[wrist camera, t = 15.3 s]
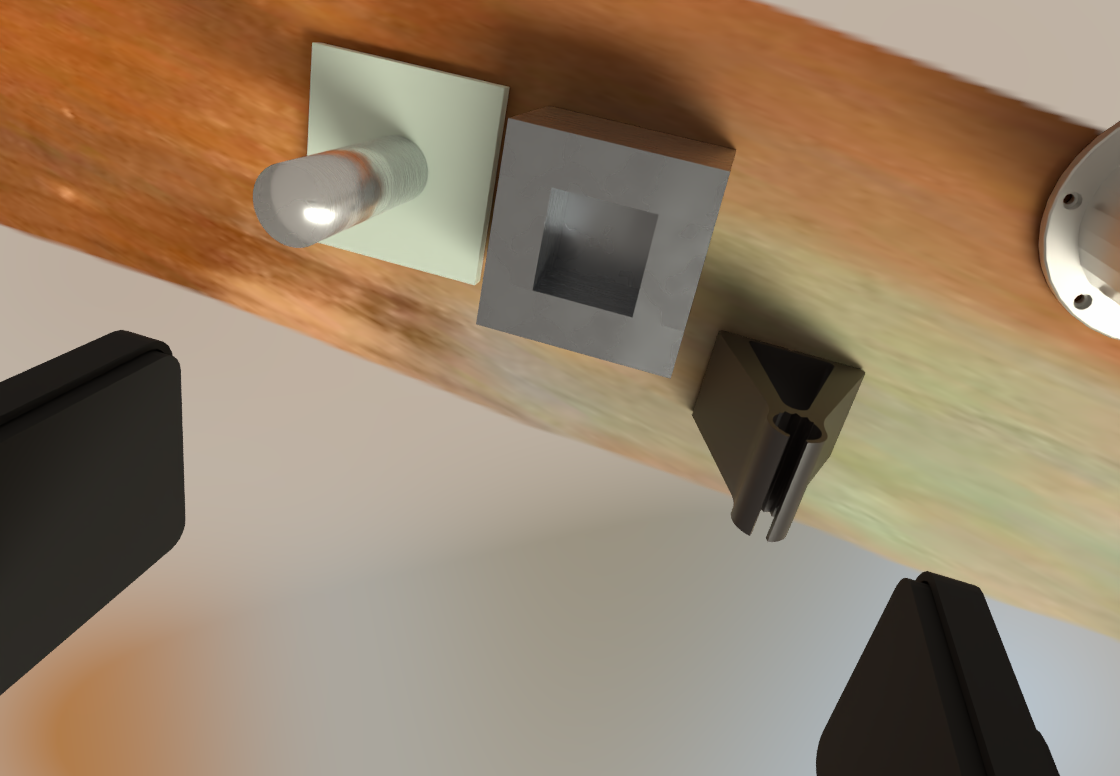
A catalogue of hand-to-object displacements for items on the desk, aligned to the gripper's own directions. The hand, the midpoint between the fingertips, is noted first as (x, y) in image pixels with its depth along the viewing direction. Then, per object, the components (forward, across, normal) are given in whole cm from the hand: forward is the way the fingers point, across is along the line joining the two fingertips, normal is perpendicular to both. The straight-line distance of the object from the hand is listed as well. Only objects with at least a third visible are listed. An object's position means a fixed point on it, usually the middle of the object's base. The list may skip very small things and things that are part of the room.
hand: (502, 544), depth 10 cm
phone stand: (+39, -8, +13) cm, 42 cm away
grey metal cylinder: (+37, +18, +5) cm, 42 cm away
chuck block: (+38, +4, +5) cm, 39 cm away
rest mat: (+38, +18, +5) cm, 43 cm away
